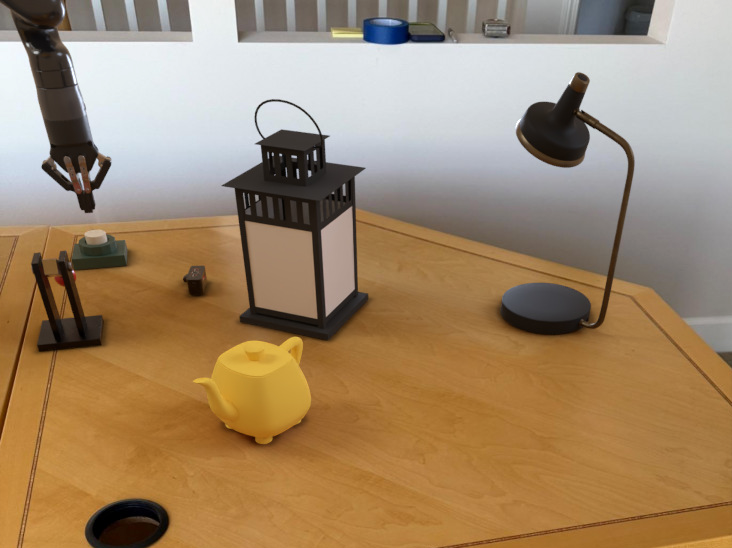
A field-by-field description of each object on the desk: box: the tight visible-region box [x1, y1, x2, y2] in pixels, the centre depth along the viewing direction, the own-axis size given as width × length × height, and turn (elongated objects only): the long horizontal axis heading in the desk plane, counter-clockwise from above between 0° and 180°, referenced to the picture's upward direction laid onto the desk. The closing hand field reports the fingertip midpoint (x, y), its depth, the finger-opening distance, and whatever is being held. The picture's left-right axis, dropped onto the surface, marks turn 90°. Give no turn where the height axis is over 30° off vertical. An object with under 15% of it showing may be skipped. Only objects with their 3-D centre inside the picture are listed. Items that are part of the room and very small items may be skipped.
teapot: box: [192, 336, 312, 445], centre depth 109 cm, size 13×20×12 cm
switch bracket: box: [30, 250, 105, 352], centre depth 128 cm, size 9×10×14 cm
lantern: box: [221, 98, 369, 341], centre depth 129 cm, size 17×17×35 cm
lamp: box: [499, 71, 636, 336], centre depth 127 cm, size 16×22×38 cm
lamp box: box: [71, 233, 129, 271], centre depth 155 cm, size 10×8×4 cm
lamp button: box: [84, 229, 107, 245], centre depth 153 cm, size 4×4×2 cm
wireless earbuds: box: [182, 265, 208, 296], centre depth 146 cm, size 5×7×3 cm, turn 3°
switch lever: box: [42, 257, 77, 288], centre depth 129 cm, size 13×4×4 cm
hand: (89, 211), depth 150 cm, fingers closed
